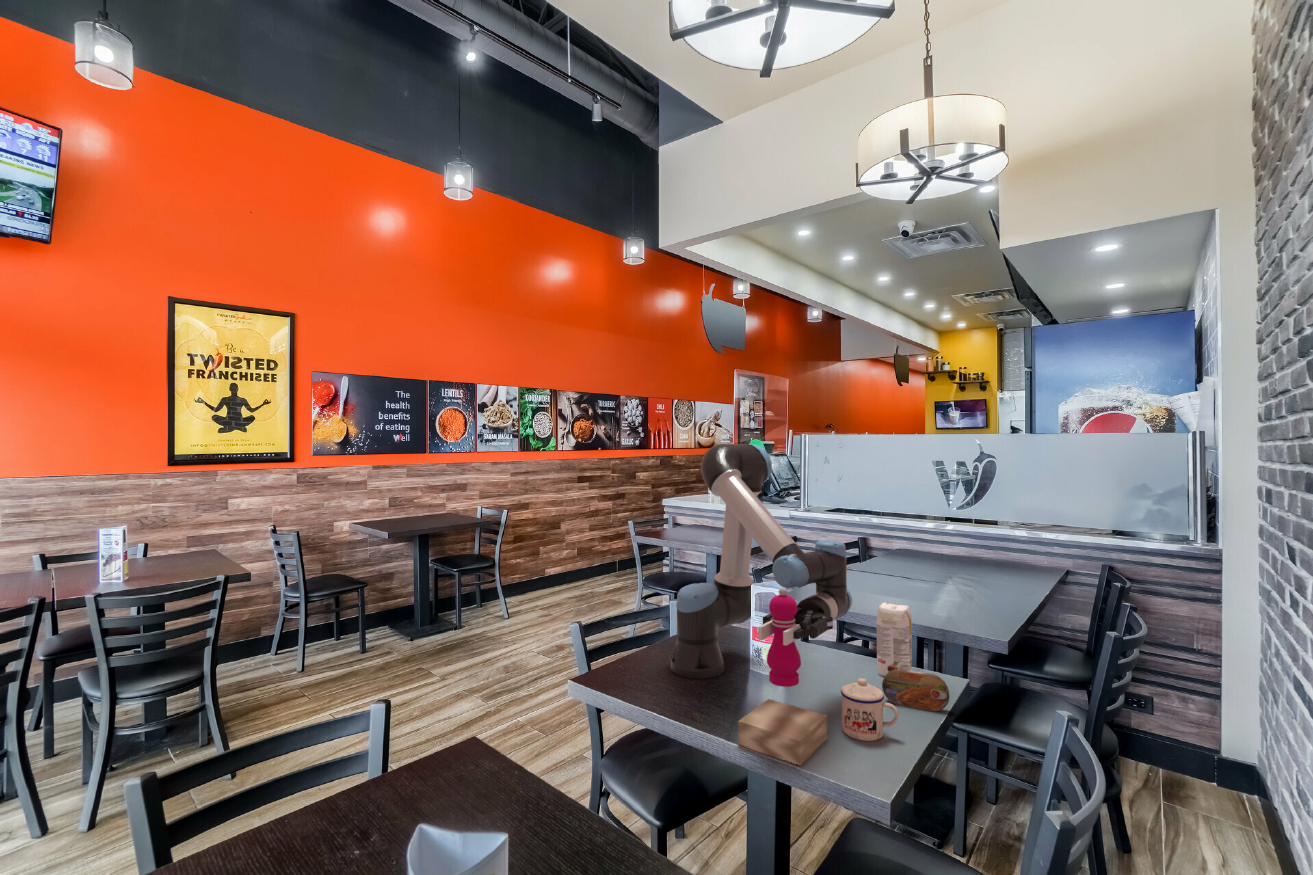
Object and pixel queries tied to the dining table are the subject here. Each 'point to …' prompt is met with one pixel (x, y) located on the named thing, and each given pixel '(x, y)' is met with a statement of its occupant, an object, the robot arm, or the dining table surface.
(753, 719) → the birch block
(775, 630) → the pepper mill
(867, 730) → the teacup with lid
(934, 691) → the tin
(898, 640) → the juice carton
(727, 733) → the dining table surface
